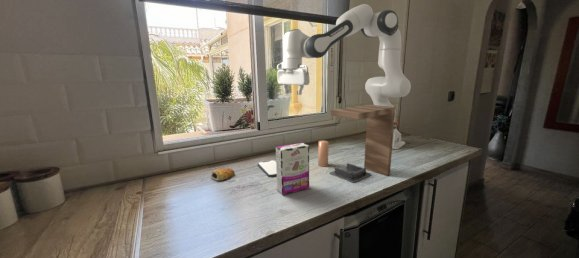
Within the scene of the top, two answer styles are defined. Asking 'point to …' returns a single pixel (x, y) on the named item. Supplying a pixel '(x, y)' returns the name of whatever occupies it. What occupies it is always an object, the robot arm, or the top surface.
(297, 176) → the candy bar box
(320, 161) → the terracotta spice jar
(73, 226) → the top surface
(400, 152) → the top surface
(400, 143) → the robot arm
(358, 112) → the walnut shelf
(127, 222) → the top surface
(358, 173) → the tray
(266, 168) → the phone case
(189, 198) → the top surface
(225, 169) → the pastry
